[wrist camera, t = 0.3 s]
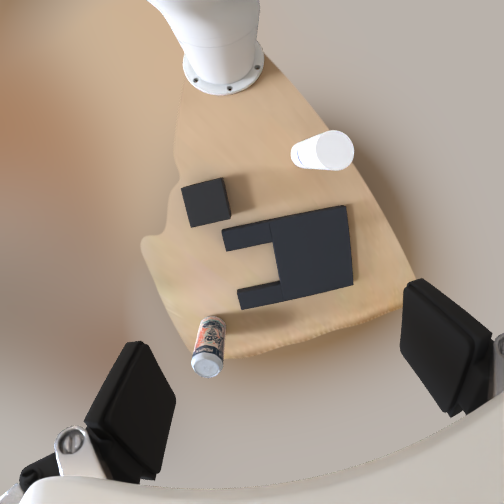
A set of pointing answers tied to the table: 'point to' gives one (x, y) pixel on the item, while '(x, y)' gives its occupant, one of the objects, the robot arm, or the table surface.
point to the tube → (324, 151)
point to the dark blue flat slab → (298, 254)
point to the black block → (206, 202)
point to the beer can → (209, 347)
